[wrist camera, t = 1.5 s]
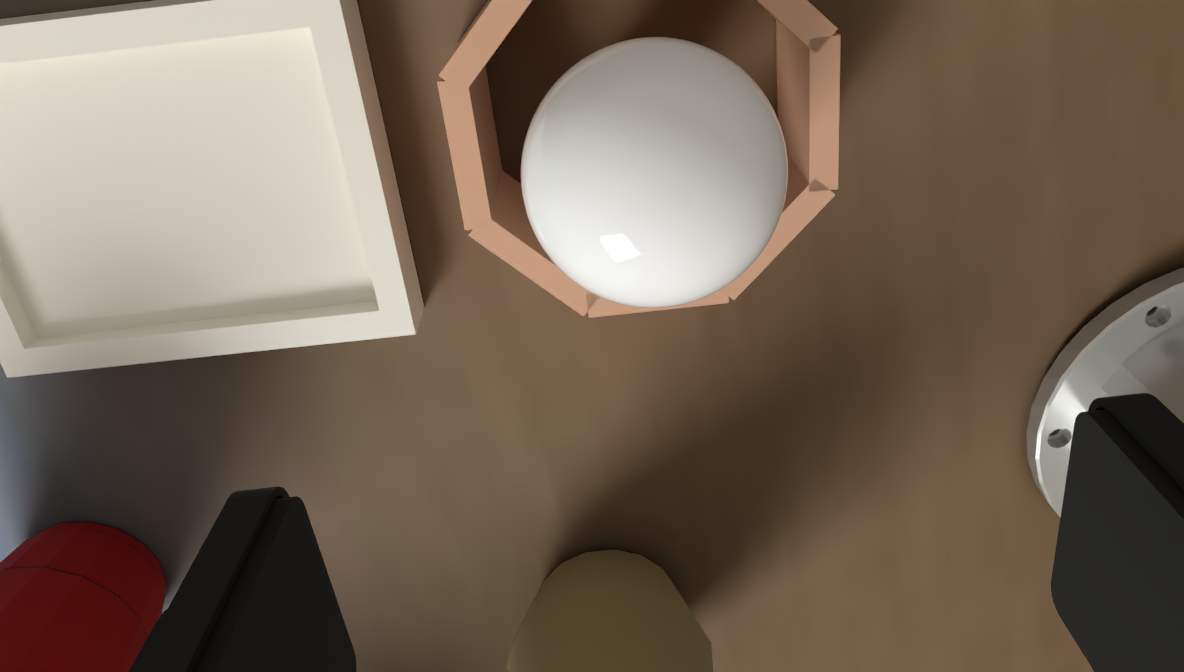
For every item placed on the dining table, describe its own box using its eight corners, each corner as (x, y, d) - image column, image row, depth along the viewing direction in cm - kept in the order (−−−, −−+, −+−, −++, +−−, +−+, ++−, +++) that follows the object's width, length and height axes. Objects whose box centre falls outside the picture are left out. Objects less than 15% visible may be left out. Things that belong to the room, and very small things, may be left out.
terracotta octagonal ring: (802, -109, 26) (842, -101, 22) (802, 235, 31) (836, 291, 27) (436, -64, 27) (412, -48, 23) (494, 268, 32) (483, 328, 28)
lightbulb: (499, 43, 28) (459, 147, 18) (693, -45, 27) (761, 15, 17) (582, 222, 31) (586, 394, 21) (761, 147, 30) (852, 293, 20)
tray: (351, -24, 27) (335, -15, 25) (424, 307, 32) (415, 334, 30) (-106, 31, 28) (-152, 44, 26) (37, 349, 33) (7, 377, 31)
